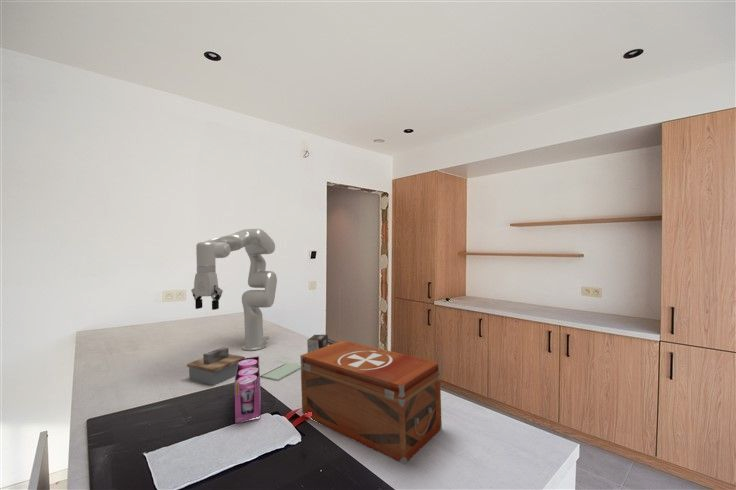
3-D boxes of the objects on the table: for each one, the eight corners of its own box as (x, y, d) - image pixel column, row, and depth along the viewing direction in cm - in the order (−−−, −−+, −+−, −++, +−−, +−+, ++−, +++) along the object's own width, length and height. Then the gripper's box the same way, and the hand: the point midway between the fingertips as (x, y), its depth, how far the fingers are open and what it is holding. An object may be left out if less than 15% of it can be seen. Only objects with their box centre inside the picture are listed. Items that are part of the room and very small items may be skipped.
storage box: (220, 369, 154) (219, 355, 154) (243, 374, 147) (243, 359, 147) (189, 382, 141) (189, 366, 141) (213, 388, 134) (213, 372, 134)
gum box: (261, 421, 108) (259, 379, 108) (234, 426, 105) (233, 383, 105) (260, 390, 130) (259, 355, 130) (238, 394, 128) (237, 358, 128)
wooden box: (344, 393, 126) (342, 340, 126) (443, 429, 100) (441, 362, 100) (301, 415, 111) (299, 355, 110) (405, 465, 85) (403, 386, 84)
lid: (219, 356, 155) (219, 343, 155) (244, 360, 147) (244, 347, 147) (187, 368, 140) (186, 354, 140) (212, 374, 133) (212, 359, 133)
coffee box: (322, 379, 140) (321, 340, 139) (307, 378, 141) (306, 339, 141) (329, 370, 148) (328, 334, 148) (315, 370, 150) (314, 333, 150)
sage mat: (276, 361, 162) (276, 360, 162) (304, 366, 154) (304, 365, 154) (248, 374, 147) (248, 373, 147) (278, 380, 139) (278, 379, 139)
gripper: (184, 270, 148) (185, 309, 148) (214, 270, 142) (215, 311, 142) (199, 269, 155) (199, 306, 155) (227, 269, 149) (228, 308, 149)
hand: (207, 308), depth 148 cm, fingers open, 9 cm apart
